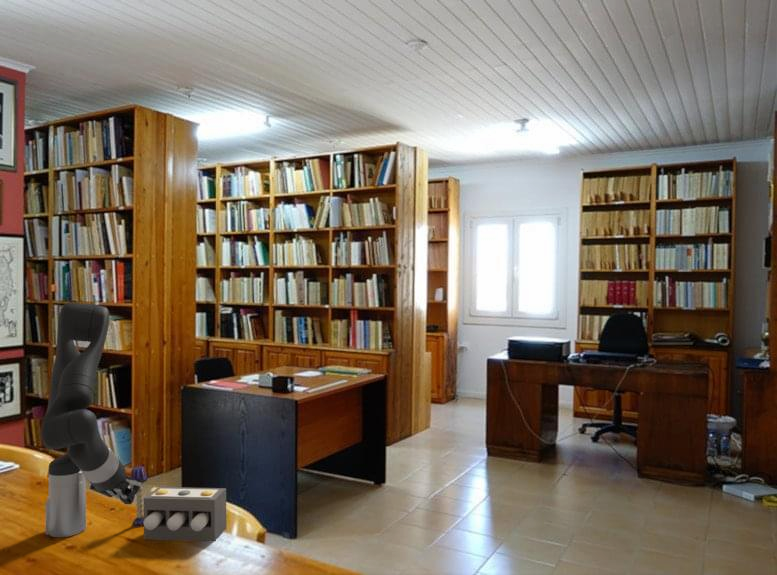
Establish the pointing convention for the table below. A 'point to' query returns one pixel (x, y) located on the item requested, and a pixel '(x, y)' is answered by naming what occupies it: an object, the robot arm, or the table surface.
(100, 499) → the table surface
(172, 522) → the button middle
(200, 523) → the button right
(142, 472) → the toy lamp
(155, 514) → the button left
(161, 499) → the button box
